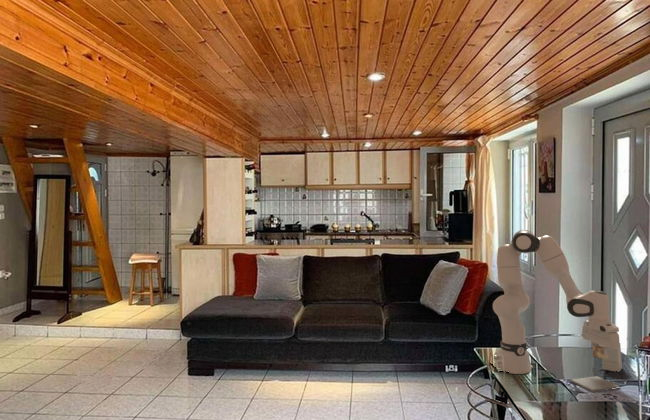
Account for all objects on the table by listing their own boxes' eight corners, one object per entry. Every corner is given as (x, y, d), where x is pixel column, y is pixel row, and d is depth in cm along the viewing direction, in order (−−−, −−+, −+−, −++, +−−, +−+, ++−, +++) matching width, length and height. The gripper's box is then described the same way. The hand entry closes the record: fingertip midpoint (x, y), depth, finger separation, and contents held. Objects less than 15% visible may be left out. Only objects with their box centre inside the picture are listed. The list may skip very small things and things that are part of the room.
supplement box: (622, 368, 239) (621, 342, 239) (619, 372, 233) (617, 346, 233) (605, 365, 244) (604, 340, 244) (602, 369, 238) (600, 344, 238)
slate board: (570, 381, 224) (570, 379, 224) (597, 378, 227) (597, 376, 227) (592, 392, 210) (592, 389, 210) (620, 388, 213) (620, 386, 213)
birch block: (592, 355, 231) (592, 345, 231) (601, 355, 232) (600, 344, 232) (599, 358, 226) (599, 348, 226) (608, 357, 227) (607, 347, 227)
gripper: (578, 320, 238) (579, 347, 239) (609, 330, 218) (610, 360, 218) (589, 319, 240) (590, 346, 240) (621, 329, 219) (622, 359, 220)
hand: (600, 353), depth 229 cm, fingers closed on birch block, 4 cm apart
